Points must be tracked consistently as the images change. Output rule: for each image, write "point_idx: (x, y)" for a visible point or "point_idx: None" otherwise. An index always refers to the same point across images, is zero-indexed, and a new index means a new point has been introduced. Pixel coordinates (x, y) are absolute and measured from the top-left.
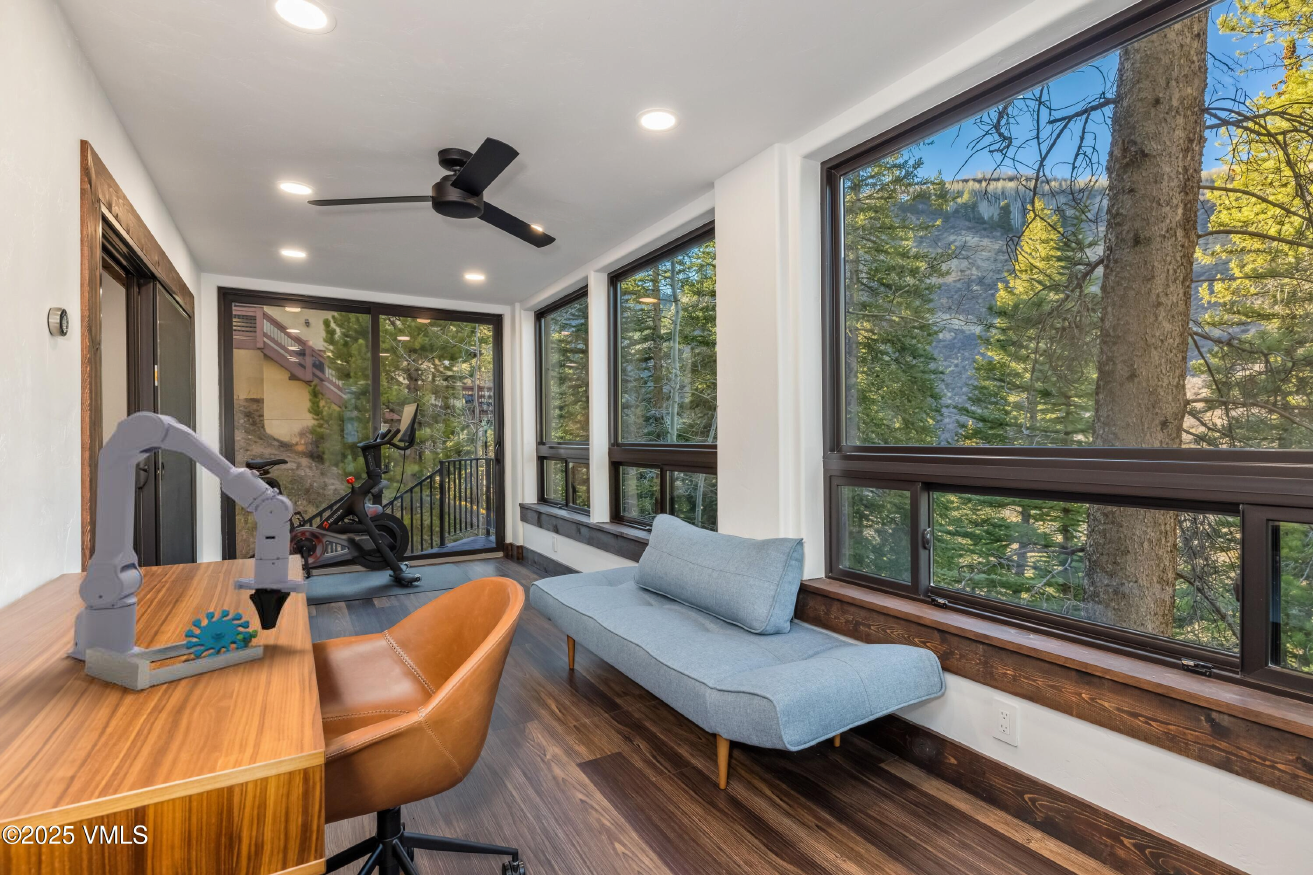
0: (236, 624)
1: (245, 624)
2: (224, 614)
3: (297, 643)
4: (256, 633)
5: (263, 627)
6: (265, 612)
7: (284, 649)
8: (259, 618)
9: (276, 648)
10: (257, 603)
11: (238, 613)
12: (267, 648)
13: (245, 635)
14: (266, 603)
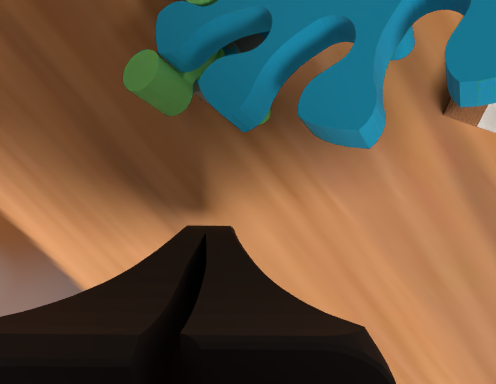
0: (284, 24)
1: (225, 72)
2: (474, 22)
3: (73, 255)
4: (125, 68)
5: (212, 227)
6: (167, 271)
7: (42, 144)
8: (238, 248)
9: (100, 152)
10: (240, 303)
11: (350, 114)
12: (148, 142)
13: (177, 13)
14: (104, 307)
